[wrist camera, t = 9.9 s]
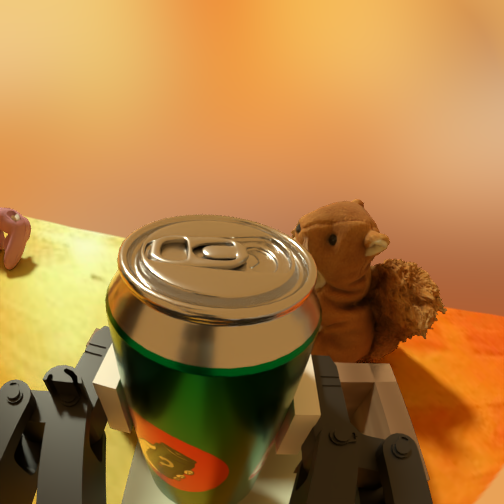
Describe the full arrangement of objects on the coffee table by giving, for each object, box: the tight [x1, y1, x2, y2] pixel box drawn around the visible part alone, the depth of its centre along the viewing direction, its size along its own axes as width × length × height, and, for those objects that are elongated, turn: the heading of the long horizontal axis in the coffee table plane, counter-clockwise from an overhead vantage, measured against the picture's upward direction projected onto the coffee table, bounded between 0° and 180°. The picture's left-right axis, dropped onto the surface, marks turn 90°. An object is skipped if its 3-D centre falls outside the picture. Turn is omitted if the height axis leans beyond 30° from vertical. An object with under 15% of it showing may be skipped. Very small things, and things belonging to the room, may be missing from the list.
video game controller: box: [0, 208, 31, 270], centre depth 29 cm, size 10×5×7 cm, turn 83°
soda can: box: [105, 215, 322, 504], centre depth 9 cm, size 5×5×12 cm
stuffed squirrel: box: [291, 199, 447, 363], centre depth 23 cm, size 10×14×13 cm
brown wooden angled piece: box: [86, 328, 430, 504], centre depth 14 cm, size 18×9×6 cm, turn 89°
